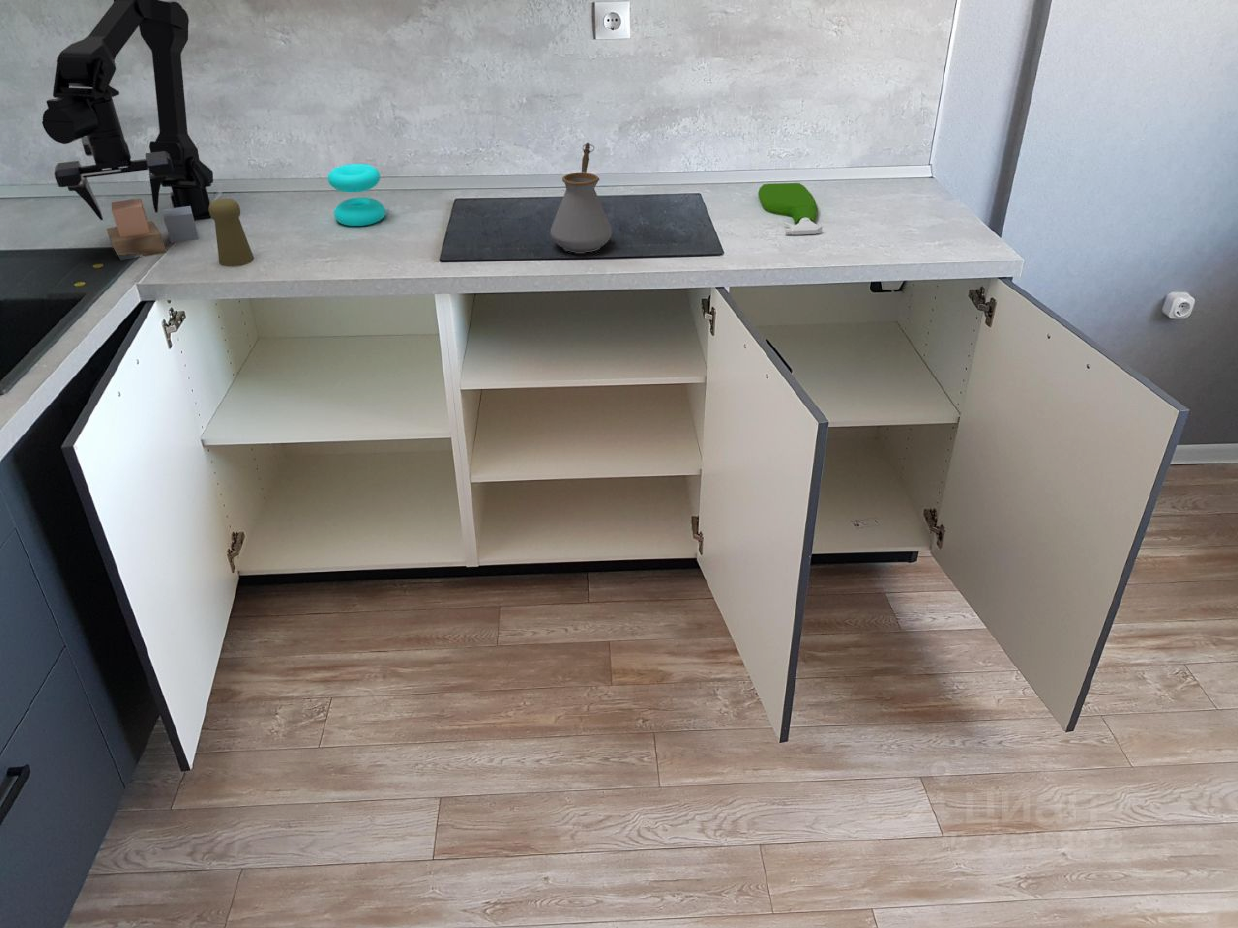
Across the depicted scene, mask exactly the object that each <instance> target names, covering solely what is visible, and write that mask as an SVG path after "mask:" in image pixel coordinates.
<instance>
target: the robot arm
mask: <svg viewBox="0 0 1238 928" xmlns="http://www.w3.org/2000/svg"><path fill="white" fill-rule="evenodd" d="M189 20H190V19H189V15H188V13H187V11H186V10H185V9H184V7H182V5H181V4H180V3H179V2H177V1H173V0H172V1H170V0H169V1H164V0H113V3H112V5H110V7H108V10H107V11H106V12H105V13H104V15H103V16H102V17H101V18H100V20H99V21H98V23H96V25H95V26H94V27H93V29H92V30H91V31H90V33H88V35H87V36H86V37H85V38H83V39H81V40H78V41H76V42H73V43H71V44H69V45H68V46H67V47H65V48H64V49H63V50H62V51H60V52H59V54H58V57H57V59H56V69H55V78H54V85H53V91H52V92H53V93H52V96H53V98H50V99H48V100H46V104H47V105H46V106H47V109H46V110H45V111H44V112H43V115H42V121H41V124H42V127H43V129H44V131H45V133H46V134H47V135H48V136H49V137H50V138H51V139H52V140H53V141H55V142H57V143H58V144H62V145H67V144H70V143H73V142H75V141H77V140H80V139H81V141H82V147H83V150H84V154H85V155H86V156H87V157H92V158H93V161H94V164H92V165H83V166H82V165H81V162H80V161H79V160H75V161H68V162H58V163H57V164H56V166H55V167H54V168H55V169H54V177H55V180H56V183H57V186H58V187H59V188H65V187H66V188H67V191H69V192H75V193H77V194H78V196H79V197H81V199H83V200H84V201H85V203H86V204H87V205H88V206H89V208H90V209H91V210H92V211H93V212H94V215H96V216H97V218H98V219H99V220H100V221H103V220H104V217H103V213H102V210H101V208H100V205H99V204H98V200H96V197H95V195H94V193H93V191H92V189H91V185H90V183H89V180H88V178H93V177H94V178H95V177H100V176H108V175H117V174H125V173H134V172H142V171H148V177H149V184H150V185H149V186H150V192H151V193H150V194H151V198H152V199H151V201H152V206H153V209H154V213H156V214H159V213H158V211H159V199H160V198H159V195H160V188H161V187H163V188H166V187H167V188H168V187H169V188H171V191H172V192H171V191H170V194H169V195H170V198H171V199H170V200H171V203H172V208H178V207H186V206H191V210H192V214H193V218H194V220H199V219H205V218H206V219H207V218H211V216H210V214H209V210H208V208H209V204H210V203H211V201H210V197H209V195H208V194H209V193H208V189H207V188H208V187H212V186H211V185H212V184H213V183H214V175H213V174H214V173H213V170H211V168H209V167H208V166H207V165H206V164H205V163H204V162H202V160H200V154H199V149H198V147H197V146H196V144H195V142H194V141H193V140H192V139H191V137H190V135H189V133H188V123H187V113H186V112H187V111H186V110H187V109H186V100H185V99H186V98H185V89H184V80H183V79H184V78H183V67H182V56H181V55H182V52H183V50H184V48H185V46H186V44H187V42H188V40H189V23H190V21H189ZM138 28H139V32H140V36H141V38H142V39H143V41H144V43H145V44H146V45H147V47H148V48H149V50H150V52H151V59H152V60H151V61H152V68H153V69H152V70H153V78H154V79H153V80H154V88H155V99H156V108H157V109H156V111H157V120H158V130H159V131H158V135H157V136H156V139H155V141H150V142H149V145H148V148H149V152H146V153H145V154H144V155H145V158H143V159H134V160H131V159H132V156H131V153H130V149H129V145H128V143H127V141H126V140H125V136H124V133H123V129H122V126H121V123H120V119H119V116H118V113H117V109H116V105H115V103H114V100H113V98H114V97H117V96H119V95H120V91H119V90H118V89H117V88H115V87H113V86H111V85H110V84H111V82H112V80H113V77H114V75H115V73H116V71H117V64H116V61H115V60H116V58H117V56H118V54H119V53H120V52H121V50H123V47H124V46H125V45H126V44H127V42H128V41H129V40H130V38H131V37H132V36H133V34H134V32H136V30H137V29H138Z"/></svg>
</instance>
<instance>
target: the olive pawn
mask: <svg viewBox="0 0 1238 928" xmlns="http://www.w3.org/2000/svg"><path fill="white" fill-rule="evenodd" d="M208 210H209V214H210V216H211V217H210V218H211V219H212V220H213V221H214V227H215V236H216V237H215V238H216V244H217V245H216V246H217V256H218V262H219V264H220V265H221V266H224V267H239V266H244V265H247V264H249V263H251V262H252V261H254V259H255V258H254V255H253V252H252V249H251V247H250V244H249V241H248V239H247V237H246V233H245V230H244V227H243V225H242V223H241V220H240V215H241V208H240V205H239V204H238V202H237V200H235V199H231V198H218V199H214V200H213V201H210V204H209V208H208Z"/></svg>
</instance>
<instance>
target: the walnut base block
mask: <svg viewBox="0 0 1238 928" xmlns="http://www.w3.org/2000/svg"><path fill="white" fill-rule="evenodd" d="M148 223H149V230H150V233H148V234H141V235H134V236H127V237H120V235H119V232H118V229H117V226H116V227H109V228H107V229H106V231H107V235H108V237H109V239H110V244H111V247H112V249H113V248H114V249H115V251H116V253H117V255H126V254H138V255H142V256H145V257H149V256H154V255H159V254H165V253H167V251H166V248H165V244H164V241H163V240H164V239H163V237H162V233H161V232H160V230H159V229H158V227H157V225H156V224H155V223H154V221H153V220H148ZM114 249H113V250H114ZM115 251H114V252H115ZM116 253H115V254H116ZM117 255H116V256H117Z"/></svg>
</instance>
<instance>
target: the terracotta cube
mask: <svg viewBox="0 0 1238 928" xmlns="http://www.w3.org/2000/svg"><path fill="white" fill-rule="evenodd" d="M111 212H112V215H113V218H114V221H115V225H116V227H117V229H118V232H119V235H120V237H127V236H134V235H141V234H148V233H150V230H149V223H148V221H149V220H148V216H147V214H146V210H145V207H144V204H143V199H142V198H135V199H126V200H119V201H118V200H117V201H111Z"/></svg>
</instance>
